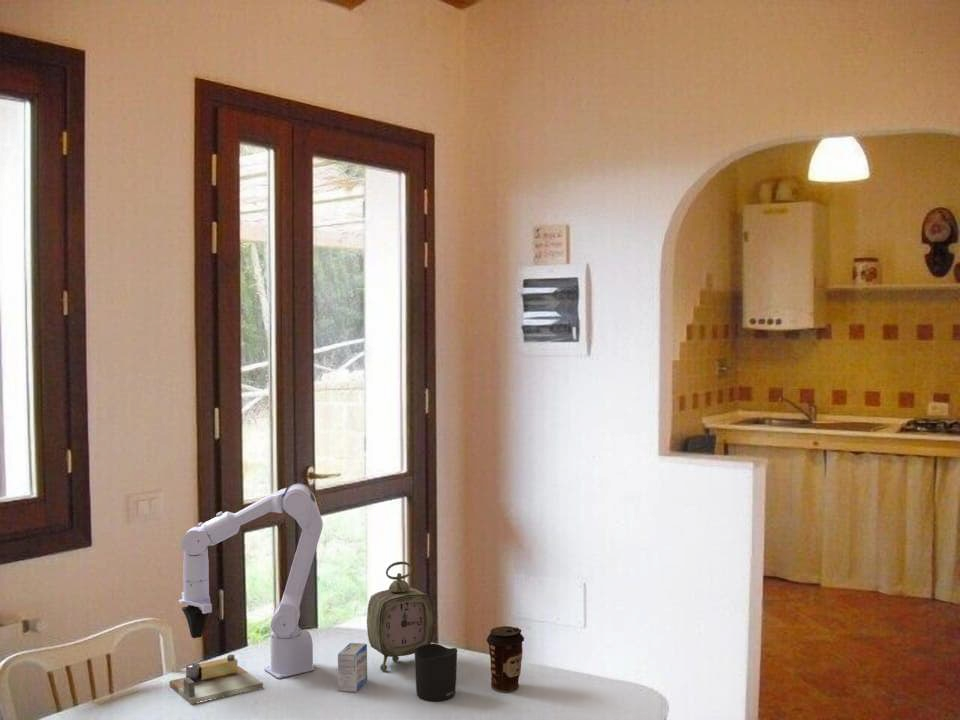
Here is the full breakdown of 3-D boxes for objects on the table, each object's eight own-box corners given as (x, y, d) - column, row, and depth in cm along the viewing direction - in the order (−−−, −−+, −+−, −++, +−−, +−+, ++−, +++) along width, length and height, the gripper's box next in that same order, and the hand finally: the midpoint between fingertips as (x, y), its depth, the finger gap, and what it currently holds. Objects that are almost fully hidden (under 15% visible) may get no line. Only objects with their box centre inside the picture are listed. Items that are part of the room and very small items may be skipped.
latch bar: (188, 682, 213) (188, 666, 213) (184, 679, 216) (184, 663, 216) (237, 672, 220) (237, 656, 220) (232, 668, 222) (232, 653, 222)
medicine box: (356, 692, 212) (356, 654, 212) (337, 691, 213) (337, 653, 213) (367, 680, 220) (367, 643, 219) (349, 679, 220) (349, 642, 220)
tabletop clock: (379, 675, 223) (378, 569, 222) (364, 663, 231) (363, 561, 230) (434, 664, 230) (433, 561, 230) (417, 653, 238) (417, 554, 238)
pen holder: (419, 704, 205) (419, 658, 204) (411, 689, 214) (410, 645, 213) (461, 700, 207) (461, 654, 207) (451, 685, 216) (451, 641, 216)
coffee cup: (530, 684, 216) (530, 627, 216) (516, 696, 209) (516, 638, 209) (495, 678, 220) (495, 623, 220) (480, 690, 213) (480, 633, 212)
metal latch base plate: (238, 670, 226) (238, 653, 226) (263, 688, 215) (262, 669, 215) (169, 686, 216) (169, 667, 216) (191, 704, 205) (191, 685, 205)
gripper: (168, 575, 226) (169, 632, 226) (190, 588, 214) (190, 648, 215) (197, 571, 230) (198, 627, 231) (220, 583, 219) (220, 642, 219)
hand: (196, 636), depth 223 cm, fingers closed
